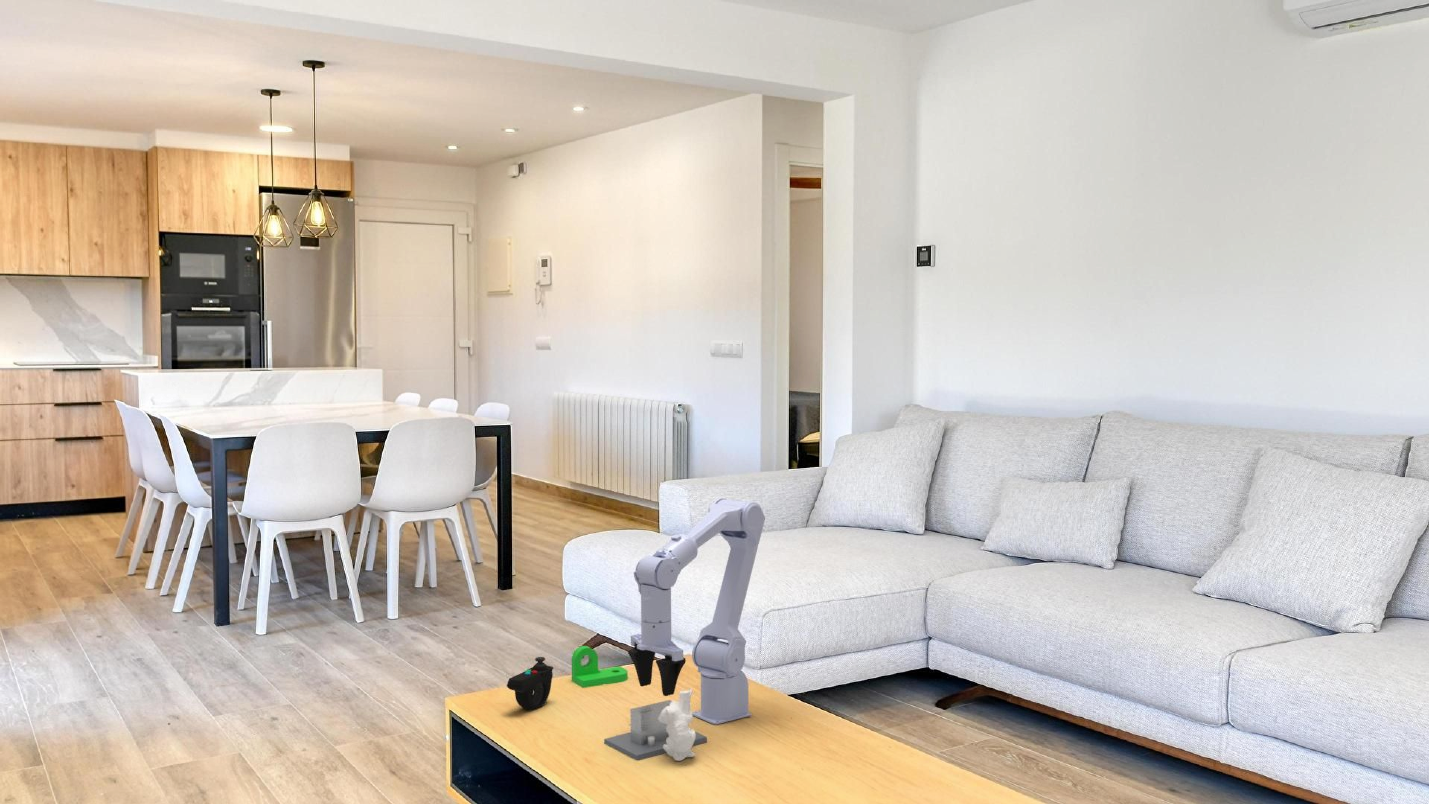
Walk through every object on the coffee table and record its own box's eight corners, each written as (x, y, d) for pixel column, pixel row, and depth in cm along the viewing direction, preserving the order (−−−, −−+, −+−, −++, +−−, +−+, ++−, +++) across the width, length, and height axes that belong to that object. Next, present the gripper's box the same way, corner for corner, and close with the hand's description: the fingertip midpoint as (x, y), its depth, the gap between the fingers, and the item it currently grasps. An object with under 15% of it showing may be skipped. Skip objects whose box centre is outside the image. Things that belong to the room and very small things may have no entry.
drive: (669, 730, 224) (669, 699, 224) (680, 735, 222) (680, 704, 221) (630, 740, 219) (630, 709, 219) (641, 745, 216) (641, 713, 216)
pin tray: (673, 726, 230) (672, 713, 229) (706, 742, 221) (706, 728, 221) (604, 744, 220) (604, 730, 220) (636, 760, 211) (636, 746, 211)
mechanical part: (583, 690, 254) (582, 654, 254) (571, 683, 259) (571, 647, 259) (632, 681, 260) (632, 646, 260) (620, 675, 266) (620, 640, 265)
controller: (556, 703, 245) (556, 656, 244) (521, 720, 234) (521, 671, 233) (539, 700, 246) (539, 653, 246) (504, 717, 235) (503, 668, 235)
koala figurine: (680, 746, 218) (679, 683, 218) (708, 754, 214) (708, 690, 214) (651, 760, 212) (651, 695, 211) (680, 768, 208) (680, 701, 207)
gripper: (617, 615, 224) (618, 685, 225) (661, 630, 213) (662, 703, 214) (647, 610, 228) (648, 678, 229) (692, 624, 217) (692, 695, 218)
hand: (656, 690), depth 222 cm, fingers open, 7 cm apart
